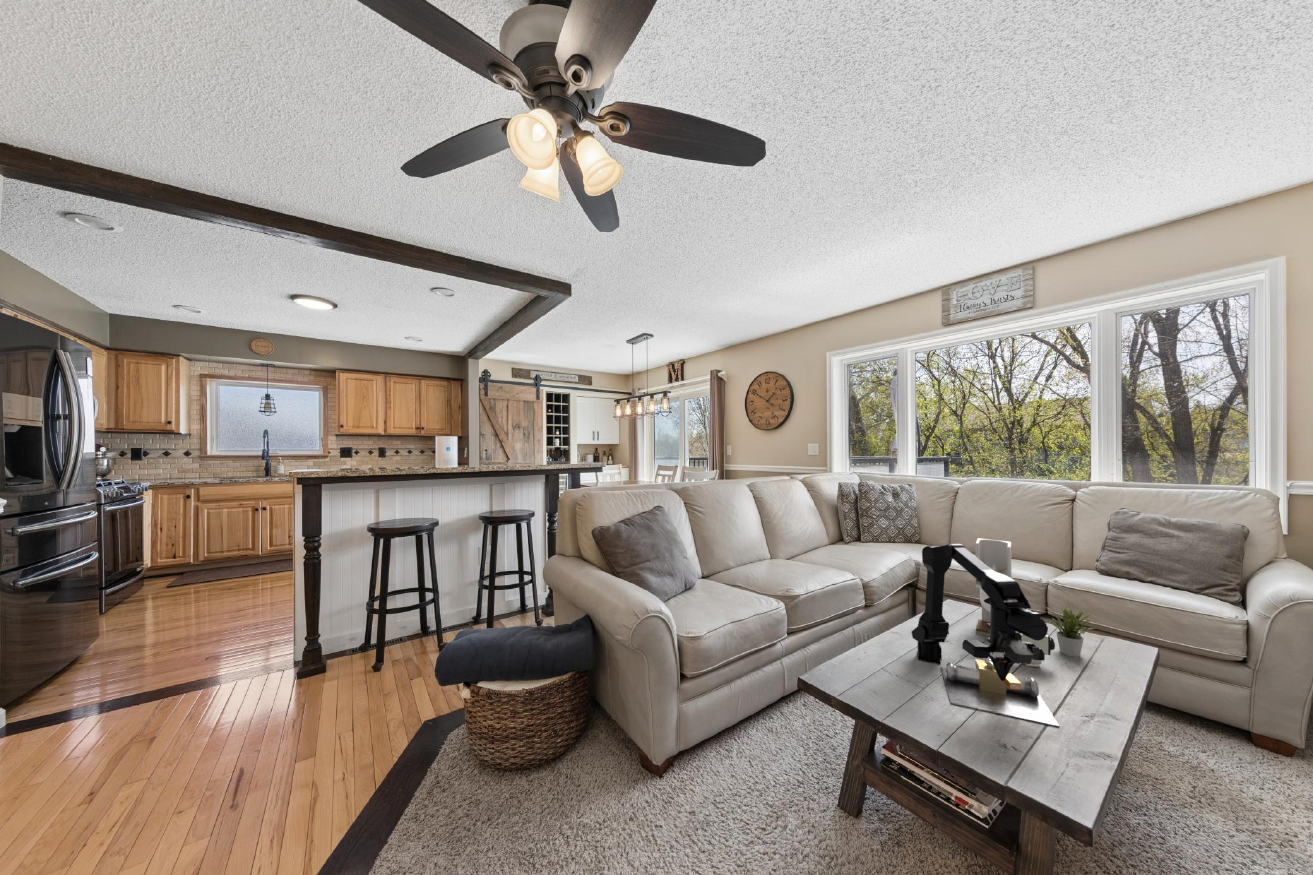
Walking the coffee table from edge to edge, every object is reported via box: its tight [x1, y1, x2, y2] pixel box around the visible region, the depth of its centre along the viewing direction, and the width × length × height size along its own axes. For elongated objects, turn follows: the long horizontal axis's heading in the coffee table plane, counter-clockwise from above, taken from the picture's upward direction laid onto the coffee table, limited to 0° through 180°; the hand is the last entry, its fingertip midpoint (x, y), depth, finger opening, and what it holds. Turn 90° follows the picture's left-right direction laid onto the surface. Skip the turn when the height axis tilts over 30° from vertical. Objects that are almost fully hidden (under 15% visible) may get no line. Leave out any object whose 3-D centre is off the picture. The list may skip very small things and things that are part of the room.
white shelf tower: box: [975, 537, 1013, 638], centre depth 175 cm, size 11×11×35 cm
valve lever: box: [983, 657, 1021, 690], centre depth 130 cm, size 15×3×2 cm, turn 166°
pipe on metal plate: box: [940, 658, 1060, 728], centre depth 132 cm, size 24×22×7 cm
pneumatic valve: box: [1020, 633, 1056, 668], centre depth 150 cm, size 6×12×12 cm, turn 78°
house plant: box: [1045, 605, 1101, 658], centre depth 156 cm, size 14×14×16 cm
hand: (1002, 680), depth 125 cm, fingers closed
